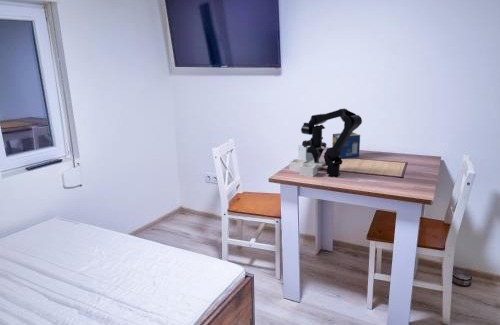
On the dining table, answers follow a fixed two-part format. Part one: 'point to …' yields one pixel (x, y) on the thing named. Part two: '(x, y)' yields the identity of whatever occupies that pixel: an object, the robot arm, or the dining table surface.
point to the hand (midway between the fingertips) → (316, 161)
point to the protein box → (349, 146)
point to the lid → (317, 162)
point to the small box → (304, 154)
